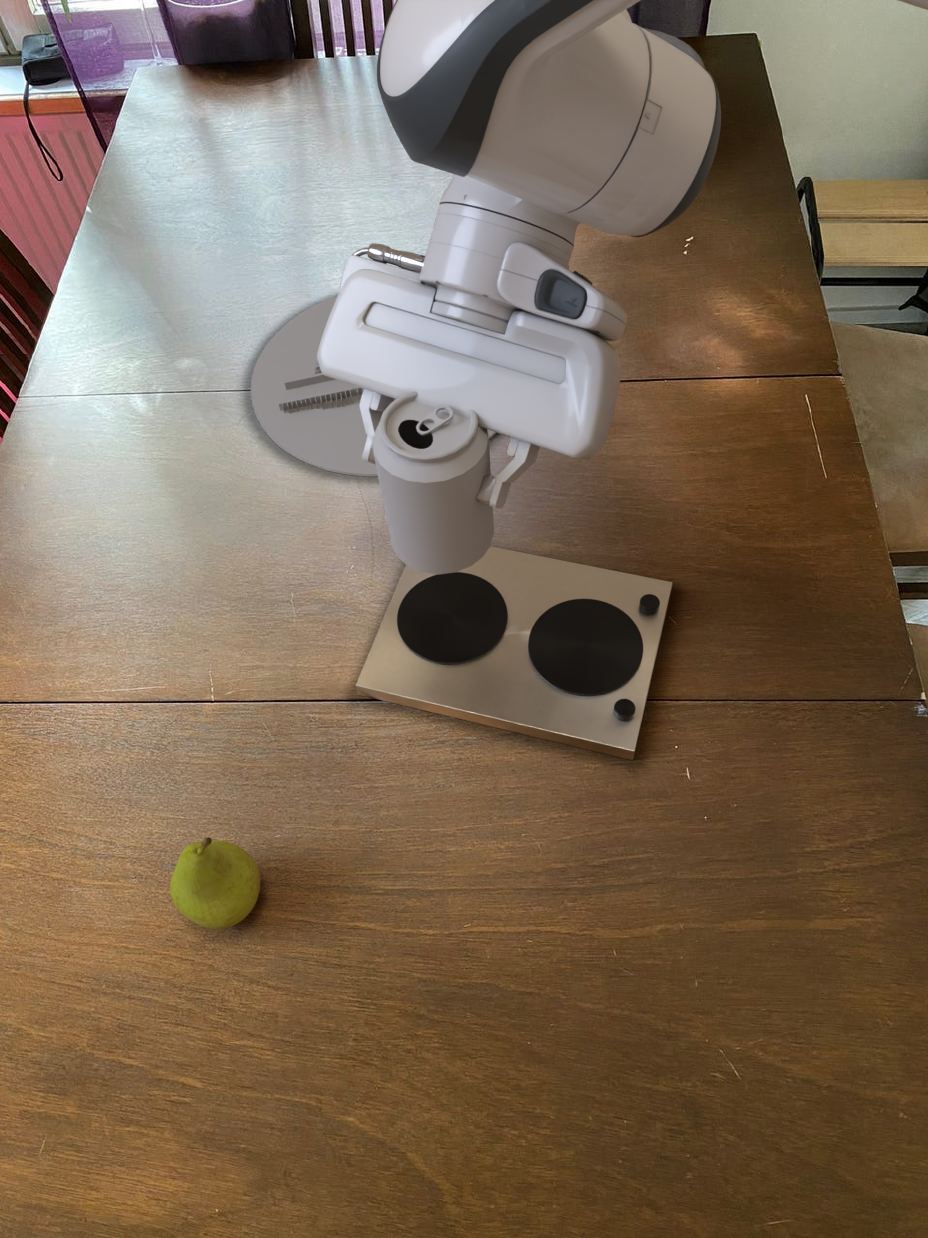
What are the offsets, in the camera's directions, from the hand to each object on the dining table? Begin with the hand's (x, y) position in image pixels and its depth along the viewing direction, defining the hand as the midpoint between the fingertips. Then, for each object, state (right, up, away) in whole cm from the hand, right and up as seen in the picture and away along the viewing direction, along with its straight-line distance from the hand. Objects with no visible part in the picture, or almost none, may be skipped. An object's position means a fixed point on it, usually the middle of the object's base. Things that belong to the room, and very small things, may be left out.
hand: (431, 484), depth 65 cm
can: (+1, -3, +6) cm, 7 cm away
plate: (-5, +16, +33) cm, 37 cm away
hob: (+7, -11, +14) cm, 19 cm away
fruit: (-14, -29, +3) cm, 32 cm away
